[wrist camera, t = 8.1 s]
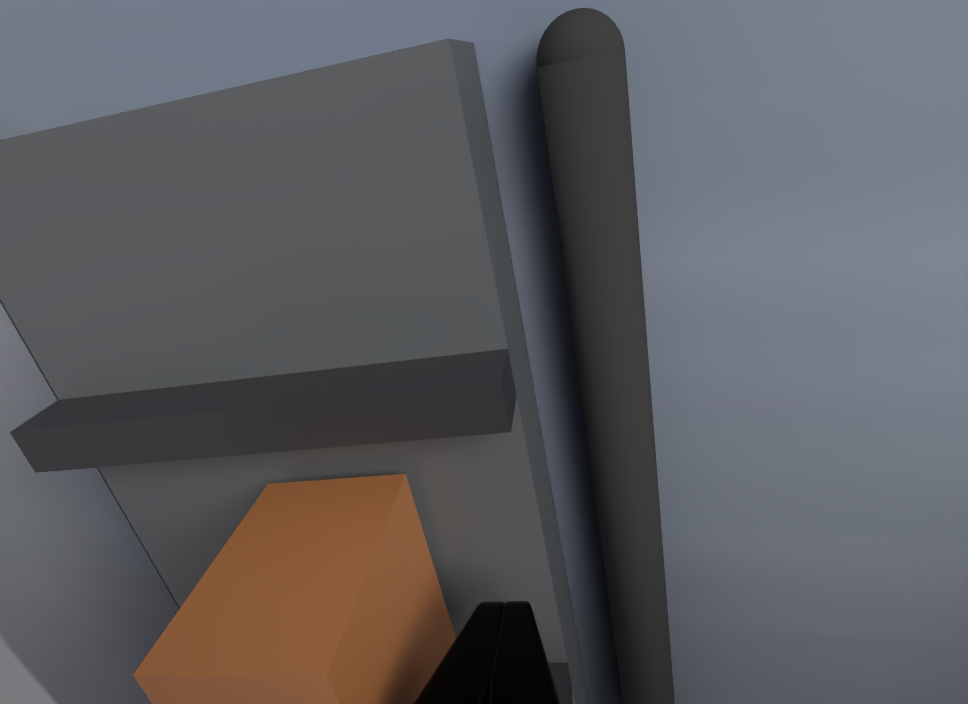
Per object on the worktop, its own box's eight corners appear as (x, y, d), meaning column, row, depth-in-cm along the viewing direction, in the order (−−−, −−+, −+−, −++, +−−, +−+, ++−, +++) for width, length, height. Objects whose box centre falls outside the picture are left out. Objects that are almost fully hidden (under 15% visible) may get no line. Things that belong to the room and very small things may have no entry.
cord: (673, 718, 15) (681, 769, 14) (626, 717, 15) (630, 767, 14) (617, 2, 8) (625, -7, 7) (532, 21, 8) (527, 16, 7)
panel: (592, 726, 16) (598, 864, 13) (319, 722, 17) (273, 843, 14) (473, 42, 9) (431, 36, 6) (31, 141, 10) (-159, 170, 8)
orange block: (456, 640, 11) (412, 862, 8) (336, 641, 12) (252, 851, 9) (405, 473, 9) (325, 675, 6) (268, 483, 10) (132, 675, 7)
